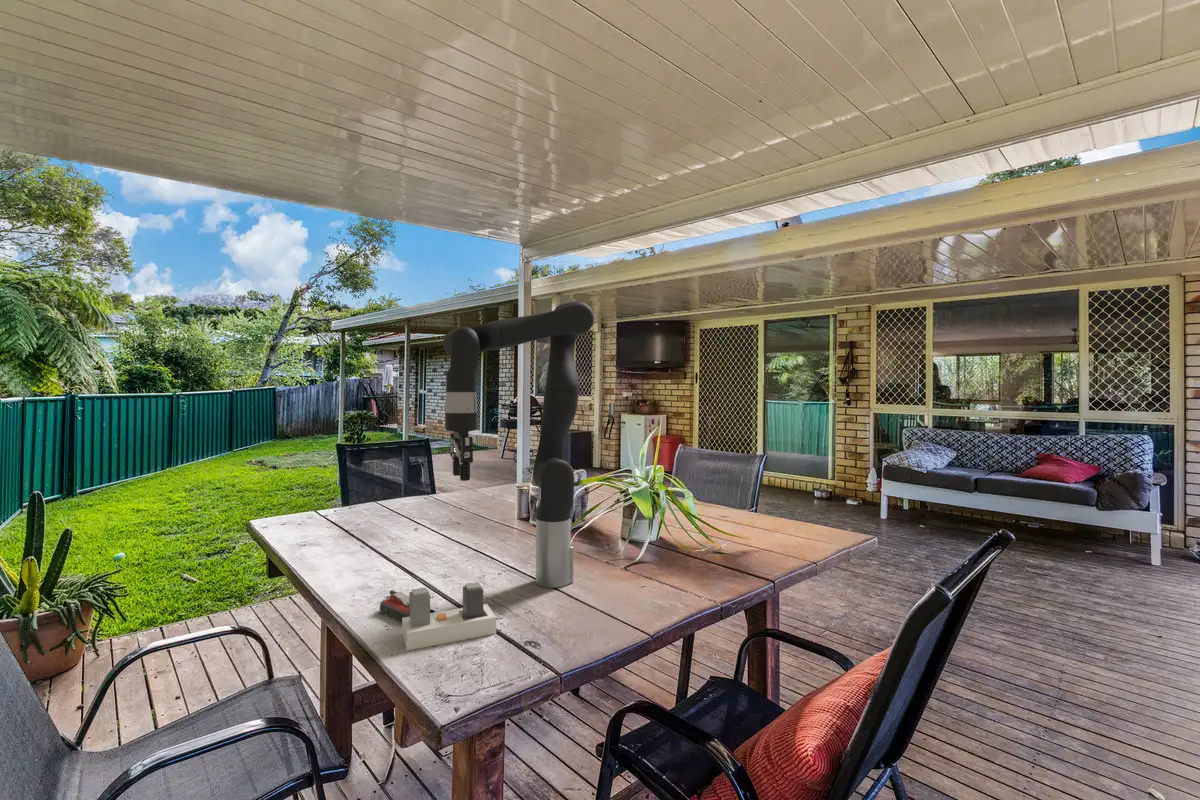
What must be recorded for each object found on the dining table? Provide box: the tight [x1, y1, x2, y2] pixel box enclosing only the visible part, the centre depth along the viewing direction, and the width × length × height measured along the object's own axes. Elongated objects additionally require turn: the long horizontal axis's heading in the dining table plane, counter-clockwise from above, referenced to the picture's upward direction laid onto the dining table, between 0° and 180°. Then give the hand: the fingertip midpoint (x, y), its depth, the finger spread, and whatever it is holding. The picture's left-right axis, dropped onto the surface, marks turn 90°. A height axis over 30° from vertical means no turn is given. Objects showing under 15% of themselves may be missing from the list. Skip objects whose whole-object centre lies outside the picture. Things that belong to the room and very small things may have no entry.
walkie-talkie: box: [379, 589, 436, 624], centre depth 130 cm, size 9×4×20 cm
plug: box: [462, 582, 484, 620], centre depth 119 cm, size 4×4×9 cm
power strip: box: [401, 587, 497, 652], centre depth 117 cm, size 18×8×10 cm, turn 116°
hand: (461, 477), depth 134 cm, fingers open, 8 cm apart
